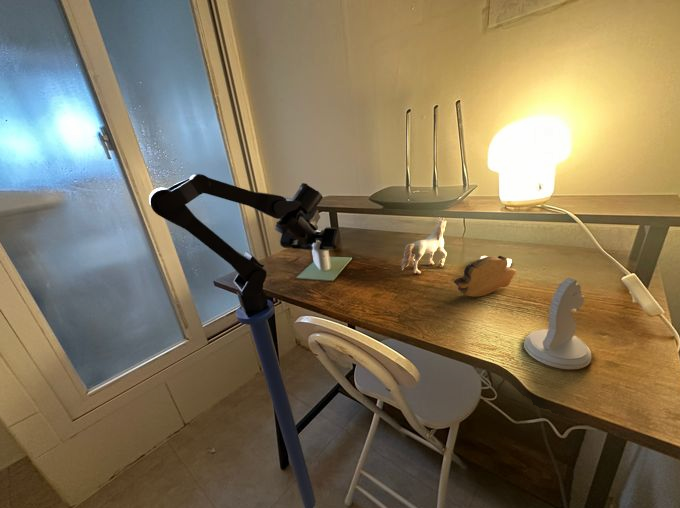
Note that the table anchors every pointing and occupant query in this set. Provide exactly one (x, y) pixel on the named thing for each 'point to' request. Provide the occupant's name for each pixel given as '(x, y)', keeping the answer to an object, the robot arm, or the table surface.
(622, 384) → the table surface
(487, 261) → the wooden carving
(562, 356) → the chess piece
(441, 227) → the unicorn figurine
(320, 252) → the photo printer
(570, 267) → the table surface
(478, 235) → the table surface
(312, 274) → the felt mat
